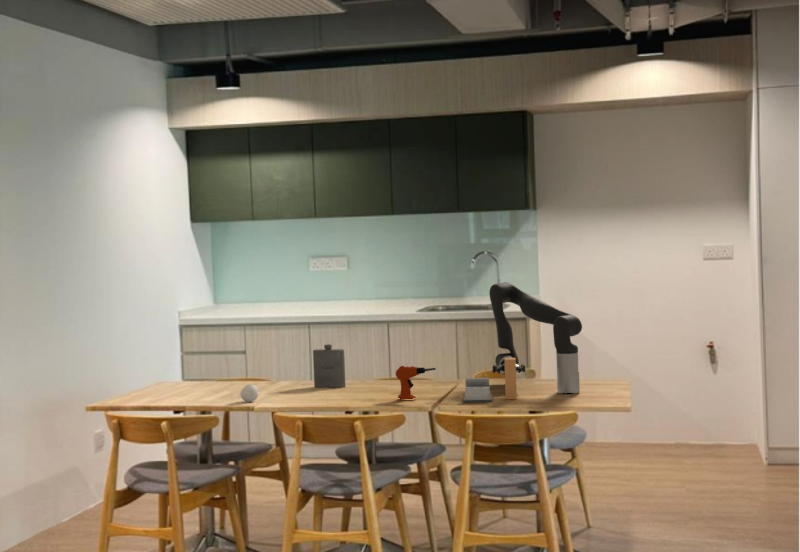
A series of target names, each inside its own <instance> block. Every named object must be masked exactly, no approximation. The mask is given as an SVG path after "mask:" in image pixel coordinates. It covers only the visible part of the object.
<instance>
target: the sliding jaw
mask: <svg viewBox="0 0 800 552" xmlns="http://www.w3.org/2000/svg"><path fill="white" fill-rule="evenodd" d="M465 387H489V388H490V377H469V378H468V377H465Z"/></svg>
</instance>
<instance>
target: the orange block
mask: <svg viewBox="0 0 800 552" xmlns="http://www.w3.org/2000/svg"><path fill="white" fill-rule="evenodd" d="M504 359H505V374H504V387H505V391H504V394H505V400H506V399H515V400H518V397H517V396H518V395H517V393H518V392H517V373H516V359H515V358H504Z"/></svg>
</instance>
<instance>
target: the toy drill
mask: <svg viewBox="0 0 800 552" xmlns="http://www.w3.org/2000/svg"><path fill="white" fill-rule="evenodd" d="M436 370H437V368H436V367H430V368H428V367H427V368H425V367H423V366H422V367H418V366H413V365H412V366H404V365H401V366H399V367H398V368H397V369H396V371H395V376H396V378H397V379H398V380H399V382H400V394H398V396H397V399H398V398H400V399H413V398H416V396H415V395H413V394H412V393H411V389H412V388H413V387H414V383H413V382H412V380H411V379H412V378H414V377H416V376H419V375H421V374H425V372H429V371H436Z"/></svg>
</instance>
